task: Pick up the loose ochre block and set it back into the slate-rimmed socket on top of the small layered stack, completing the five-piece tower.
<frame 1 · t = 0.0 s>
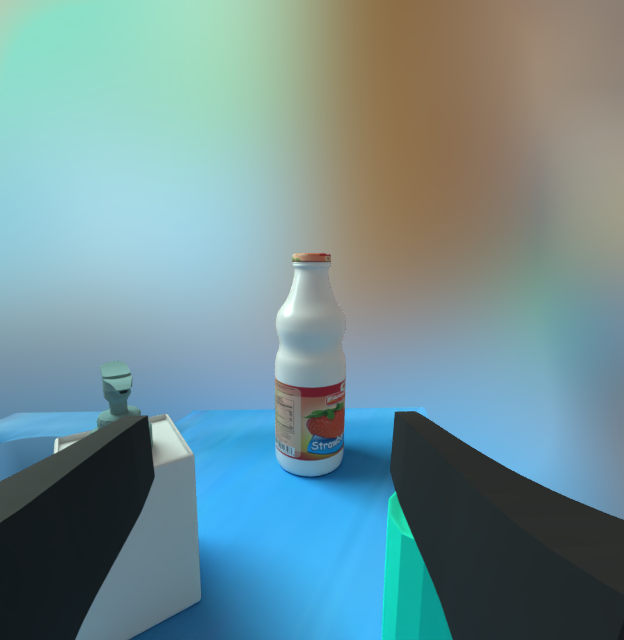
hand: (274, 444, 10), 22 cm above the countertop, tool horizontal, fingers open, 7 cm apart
fruit juice: (309, 459, 48), on the countertop
soap bottle: (134, 591, 29), on the countertop
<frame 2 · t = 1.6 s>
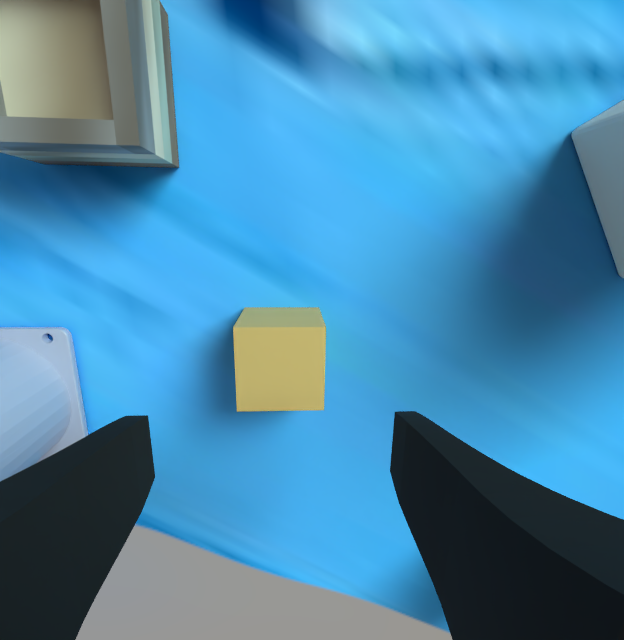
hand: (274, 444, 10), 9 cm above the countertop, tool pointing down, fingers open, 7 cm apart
ochre block: (282, 342, 19), on the countertop
tower base: (103, 92, 16), on the countertop
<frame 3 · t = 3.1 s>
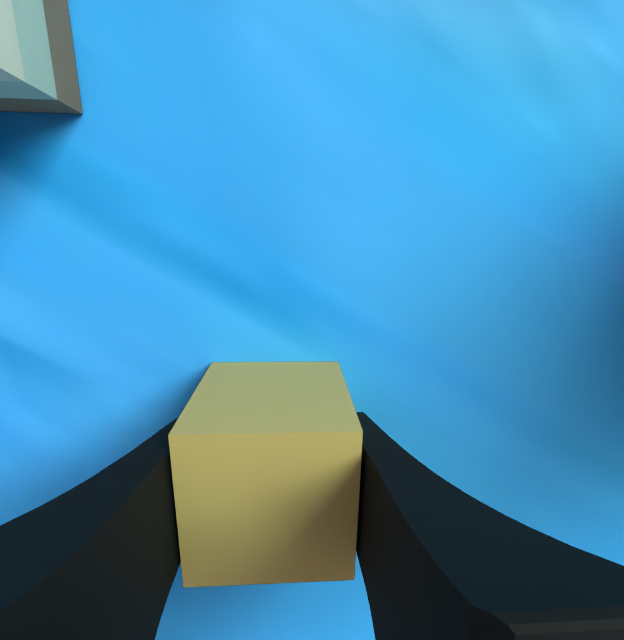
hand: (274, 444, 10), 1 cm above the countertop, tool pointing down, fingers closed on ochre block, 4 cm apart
ochre block: (276, 418, 12), on the countertop, touching gripper
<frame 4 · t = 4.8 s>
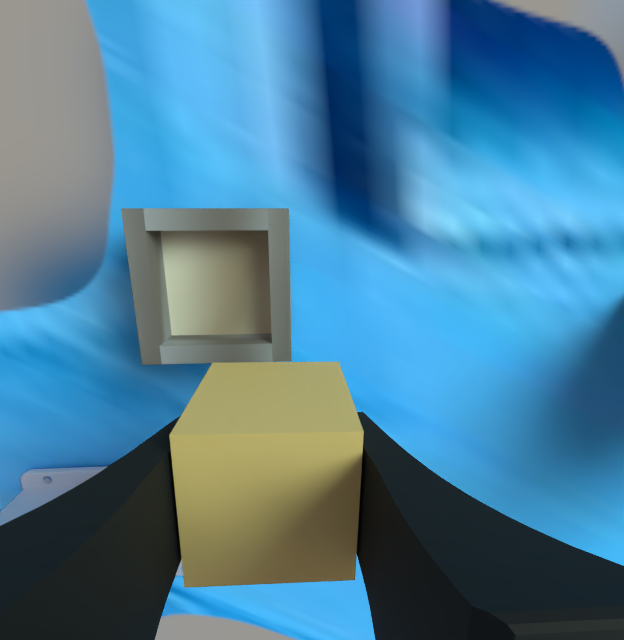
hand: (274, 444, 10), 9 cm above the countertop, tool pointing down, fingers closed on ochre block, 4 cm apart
ochre block: (276, 418, 12), point 8 cm above the countertop, touching gripper
tower base: (231, 275, 18), on the countertop
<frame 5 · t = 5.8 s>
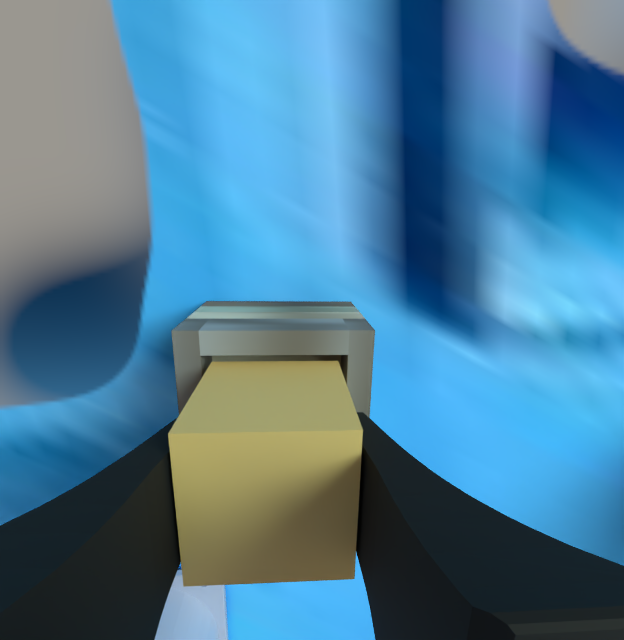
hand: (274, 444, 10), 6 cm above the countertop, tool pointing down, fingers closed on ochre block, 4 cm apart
ochre block: (276, 417, 12), point 4 cm above the countertop, touching gripper
tower base: (280, 368, 16), on the countertop
when the fingers open (5 cm above the countertop, at t = 6.7 s): ochre block stays where it is, resting on tower base.
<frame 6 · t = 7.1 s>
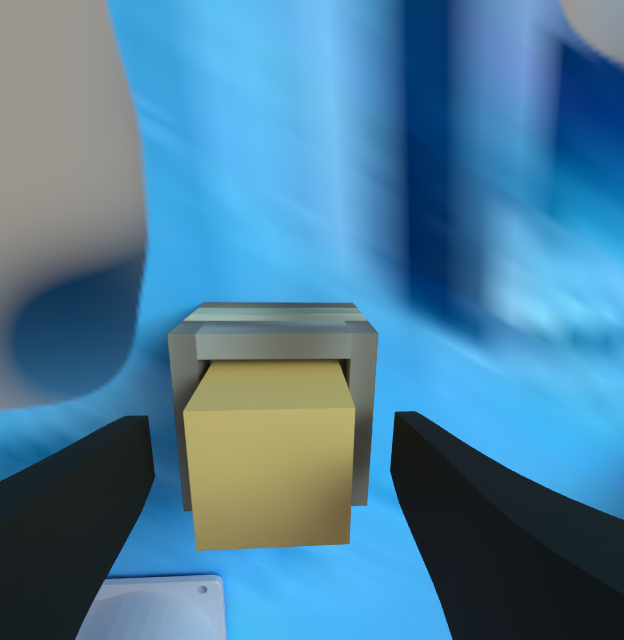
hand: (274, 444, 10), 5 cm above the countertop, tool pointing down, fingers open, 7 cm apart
ochre block: (278, 404, 12), point 3 cm above the countertop, touching tower base
tower base: (280, 371, 15), on the countertop
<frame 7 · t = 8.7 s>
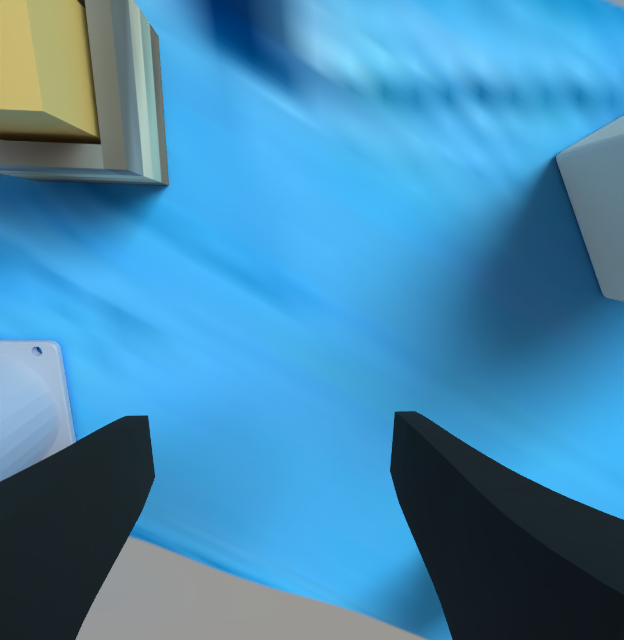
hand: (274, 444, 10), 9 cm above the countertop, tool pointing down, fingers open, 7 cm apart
ochre block: (51, 84, 13), point 3 cm above the countertop, touching tower base
tower base: (94, 110, 16), on the countertop
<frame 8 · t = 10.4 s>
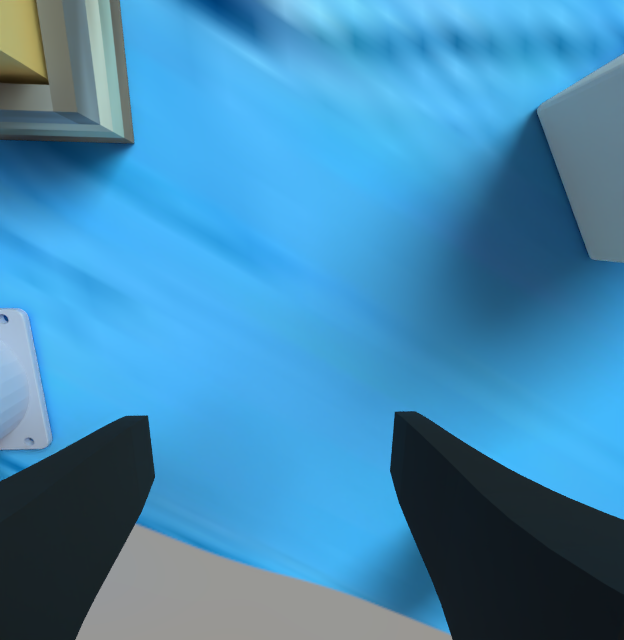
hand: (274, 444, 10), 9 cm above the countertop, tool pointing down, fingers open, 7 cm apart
ochre block: (0, 26, 12), point 3 cm above the countertop, touching tower base
tower base: (54, 64, 15), on the countertop
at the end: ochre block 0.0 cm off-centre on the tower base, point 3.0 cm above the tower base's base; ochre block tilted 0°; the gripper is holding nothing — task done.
